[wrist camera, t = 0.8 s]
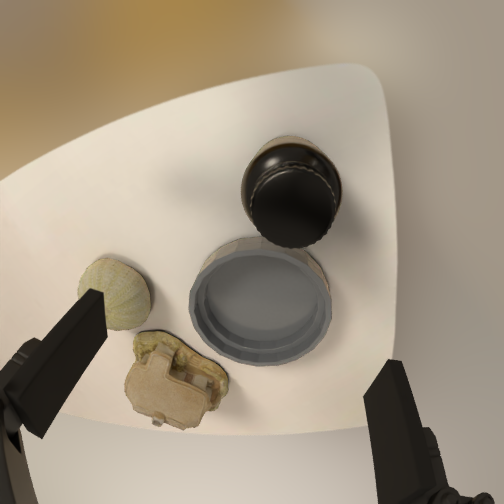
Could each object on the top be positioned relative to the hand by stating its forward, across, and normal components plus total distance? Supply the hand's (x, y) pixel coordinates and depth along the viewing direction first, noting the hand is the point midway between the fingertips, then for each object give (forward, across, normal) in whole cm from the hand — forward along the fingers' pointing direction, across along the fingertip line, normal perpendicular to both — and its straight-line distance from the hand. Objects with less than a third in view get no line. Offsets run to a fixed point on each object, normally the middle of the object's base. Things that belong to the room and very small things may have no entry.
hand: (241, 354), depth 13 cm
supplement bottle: (+19, +1, +5) cm, 19 cm away
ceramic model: (+18, -7, -23) cm, 31 cm away
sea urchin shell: (+18, -15, -13) cm, 27 cm away
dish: (+18, +1, -9) cm, 21 cm away
